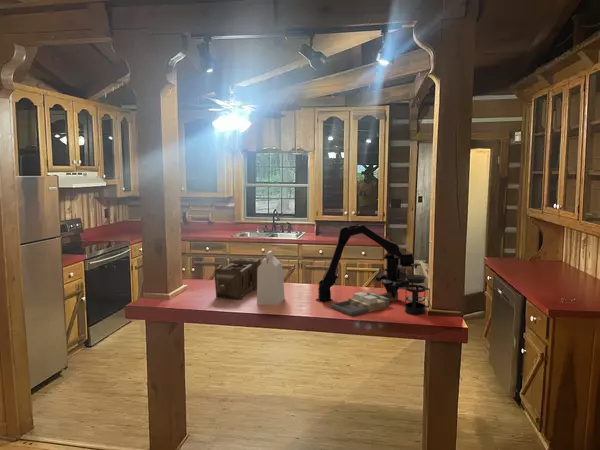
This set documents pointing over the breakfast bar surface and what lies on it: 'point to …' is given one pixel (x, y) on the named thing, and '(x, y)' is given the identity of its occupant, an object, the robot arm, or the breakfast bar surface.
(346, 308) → the box
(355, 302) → the deck
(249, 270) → the ornamental box
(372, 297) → the tile
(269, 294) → the milk
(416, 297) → the french press
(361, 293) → the tile
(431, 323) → the breakfast bar surface
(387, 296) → the scraper
